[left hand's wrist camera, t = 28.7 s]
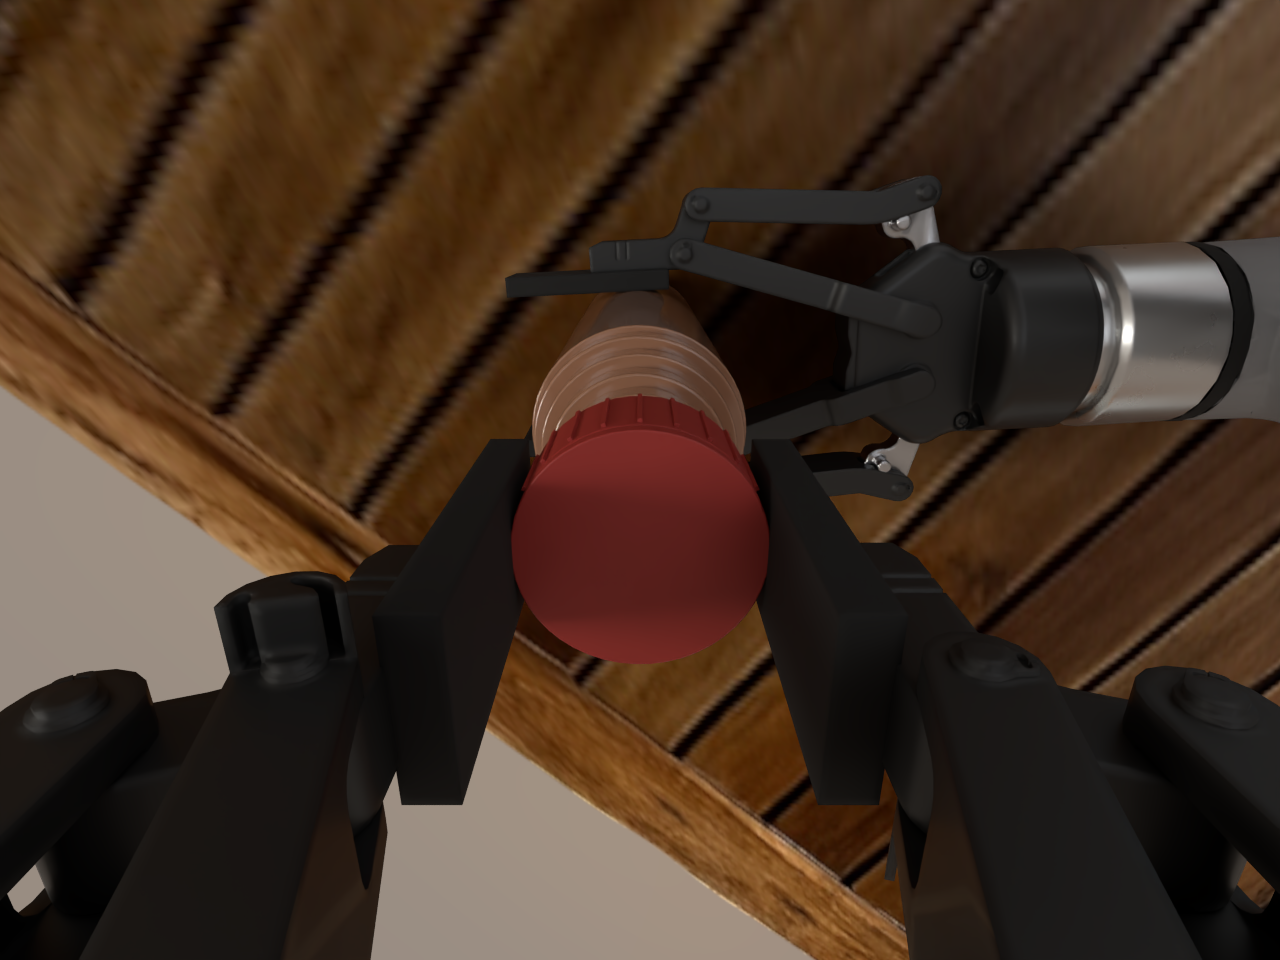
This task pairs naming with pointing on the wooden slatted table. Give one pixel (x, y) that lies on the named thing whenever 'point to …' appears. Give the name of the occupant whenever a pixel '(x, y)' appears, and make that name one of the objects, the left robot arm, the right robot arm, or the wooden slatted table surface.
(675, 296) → the bottle
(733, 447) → the cap
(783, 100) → the wooden slatted table surface
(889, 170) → the wooden slatted table surface
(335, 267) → the wooden slatted table surface
